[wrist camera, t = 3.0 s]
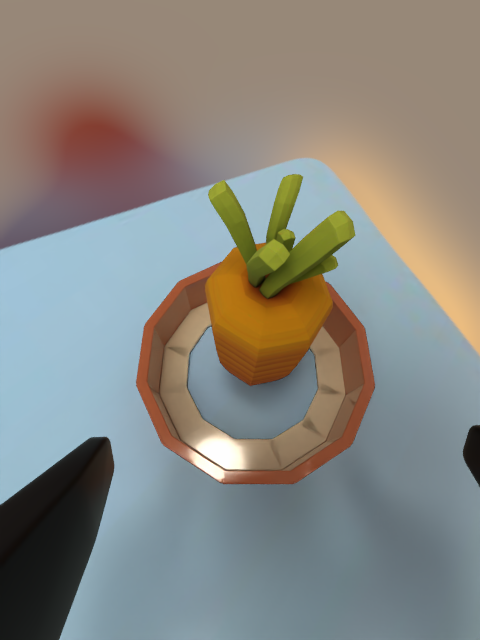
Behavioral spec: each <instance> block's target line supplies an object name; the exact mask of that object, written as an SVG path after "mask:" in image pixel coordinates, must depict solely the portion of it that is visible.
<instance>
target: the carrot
mask: <svg viewBox="0 0 480 640" xmlns="http://www.w3.org/2000/svg"><path fill="white" fill-rule="evenodd" d="M302 179H303V176H301V175H298V174H293V175H288V176H286V177H284V178H283V179H282V181H281V184H280V186H279V189H278V192H277V195H276V199H275V202H274V206H273V210H272V214H271V218H270V222H269V226H268V231H267V236H266V243H261V244H255V242H254V239H253V236H252V234H251V231H250V228H249V225H248V222H247V219H246V216H245V213H244V211H243V209H242V208H241V206H240V204H239V202H238V200H237V198H236V197H235V195H234V193H233V191H232V190H231V189H230V187H229V186H228V185H227V183H226V182H225V181H224V180H223V181H221V182H219V183H217V184H215V185H214V186H213V187H212V188H211V189H210V190H209V194H208V196H209V199H210V201H211V203H212V205H213V206H214V208H215V209H216V211H217V213H218V214H219V216H220V217H221V219H222V220H223V222H224V223H225V225H226V226H227V228H228V230H229V232H230V234H231V236H232V238H233V240H234V242H235V243H236V245H237V247H235V248H233V249H232V251H231V252H230V253H229V254H228V255H227V257H226V258H225V259H224V260H223V261H222V263H221V264H220V265H219V266H218V268H217V269H216V270H215V271H214V272H213V274H212V275H211V276H210V277H209V278H208V280H207V282H206V284H205V293H206V298H207V304H208V309H209V314H210V320H211V325H212V330H213V335H214V340H215V345H216V350H217V353H218V357H219V360H220V363H221V364H222V365H223V366H224V368H225V369H226V370H228V371H229V372H230V373H231V374H233V375H234V376H236V377H237V378H239V379H240V380H242V381H244V382H245V383H247V384H248V385H250V386H252V385H257V384H262V383H267V382H272V381H276V380H279V379H281V378H283V377H285V376H287V375H289V374H290V373H291V371H292V370H293V369H294V368H295V367H296V366H297V365H298V363H299V362H300V360H301V359H302V358H303V356H304V355H305V354H306V352H307V351H308V349H309V348H310V346H311V344H312V343H313V341H314V339H315V338H316V336H317V334H318V333H319V331H320V329H321V327H322V326H323V324H324V322H325V321H326V319H327V317H328V316H329V314H330V312H331V310H332V307H333V301H332V299H331V296H330V293H329V291H328V288H327V285H326V283H325V280H324V277H323V275H322V273H325V272H328V271H331V270H333V269H336V267H337V266H338V263H337V260H336V257H334V256H333V255H332V254H333V253H335V252H336V251H337V250H338V249H340V248H341V247H342V246H343V245H345V244H346V243H347V242H348V241H349V240H351V239H352V238H353V237H354V236H355V231H354V226H353V221H352V220H351V219H350V217H349V216H348V215H347V214H346V213H345V212H344V211H336V212H335V213H333V214H332V215H330V216H329V217H327V218H326V219H325V220H324V221H323V222H322V223H320V224H319V225H318V226H317V227H316V228H315V229H313V230H312V231H311V232H310V233H309V234H308V235H306V236H305V237H304V238H303V239H302V240H301V241H300V242H299V243H298V244H297V245H296V246H295V247H294V248H293V249H292V247H293V244H294V241H295V235H294V233H293V232H292V231H290V230H288V229H286V227H287V224H288V221H289V218H290V216H291V213H292V210H293V207H294V205H295V202H296V199H297V196H298V193H299V190H300V187H301V183H302Z"/></svg>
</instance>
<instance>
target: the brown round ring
mask: <svg viewBox="0 0 480 640" xmlns="http://www.w3.org/2000/svg"><path fill="white" fill-rule="evenodd" d="M221 263H222V262H220V263H218V264H216V265H214V266H211V267H209V268H207V269H205V270H203V271H200V272H198V273H196V274H194V275H192V276H189V277H187V278H185V279H183V280H181V281H179V282H178V283H177V284H176V285H175V287H174V288H173V289H172V290H171V292H170V293H169V294H168V296H167V297H166V298H165V299H164V301H163V302H162V303H161V304H160V306H159V307H158V308H157V310H156V311H155V312H154V313H153V315H152V316H151V317H150V318H149V320H148V321H147V322H146V324H145V326H144V331H143V338H142V345H141V352H140V359H139V366H138V373H137V380H136V386H137V388H138V391H139V393H140V395H141V397H142V400H143V402H144V404H145V406H146V409H147V411H148V413H149V416H150V418H151V420H152V422H153V425H154V427H155V429H156V431H157V434H158V436H159V438H160V441H161V443H162V444H163V445H164V446H165V447H167V448H168V449H170V450H171V451H173V452H174V453H176V454H177V455H179V456H180V457H182V458H183V459H185V460H186V461H188V462H189V463H191V464H192V465H194V466H195V467H197V468H198V469H200V470H201V471H203V472H205V473H206V474H208V475H209V476H211V477H212V478H214V479H215V480H217V481H218V482H220V483H223V484H294V483H297V482H298V481H300V480H301V479H303V478H304V477H306V476H307V475H309V474H310V473H312V472H313V471H315V470H316V469H318V468H319V467H321V466H322V465H324V464H325V463H327V462H328V461H330V460H331V459H332V458H334V457H335V456H337V455H338V454H340V453H341V452H343V451H344V450H346V449H347V448H349V447H350V446H351V445H352V443H353V441H354V438H355V436H356V433H357V431H358V428H359V426H360V423H361V421H362V418H363V416H364V413H365V411H366V408H367V406H368V403H369V401H370V398H371V396H372V393H373V391H374V388H375V382H374V376H373V371H372V365H371V360H370V354H369V348H368V343H367V337H366V331H365V328H364V326H363V325H362V324H361V322H360V321H359V320H358V318H357V317H356V316H355V315H354V313H353V312H352V311H351V310H350V308H349V307H348V306H347V305H346V303H345V302H344V301H343V300H342V298H341V297H340V296H339V295H338V293H337V292H336V291H335V290H334V288H333V287H332V286H331V285H330V284H329V283H327V282H325V283H326V285H327V288H328V291H329V293H330V296H331V299H332V301H333V307H332V310H331V312H330V314H329V316H328V317H327V319H326V321H325V322H324V324H323V326H322V327H321V329H320V331H319V333H318V334H317V336H316V338H315V339H314V341H313V343H312V344H311V346H310V350H311V351H312V353H313V354H314V355H315V365H316V375H317V385H318V390H317V392H316V394H315V396H314V398H313V400H312V402H311V404H310V406H309V408H308V411H307V413H306V415H305V417H304V419H303V420H302V421H301V422H299V423H298V424H296V425H294V426H293V427H291V428H290V429H288V430H286V431H285V432H283V433H282V434H280V435H278V436H277V437H275V438H274V439H234V438H232V437H231V436H229V435H227V434H226V433H224V432H223V431H221V430H219V429H218V428H216V427H215V426H213V425H211V424H210V423H208V422H206V421H205V420H203V419H202V417H201V415H200V413H199V411H198V409H197V407H196V405H195V403H194V401H193V399H192V397H191V395H190V393H189V391H188V389H187V379H188V365H189V354H190V352H191V351H192V349H193V348H194V347H195V345H196V344H197V342H198V341H199V339H200V338H201V336H202V335H203V333H204V332H205V331H206V329H207V328H208V327H210V326H212V325H211V320H210V314H209V309H208V304H207V298H206V293H205V284H206V282H207V280H208V278H209V277H210V276H211V275H212V274H213V272H214V271H215V270H216V269H217V268H218V266H219V265H220V264H221ZM226 469H227V470H226Z"/></svg>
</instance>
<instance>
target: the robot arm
mask: <svg viewBox="0 0 480 640" xmlns="http://www.w3.org/2000/svg"><path fill="white" fill-rule="evenodd" d="M463 458H464V460H465V463H466V464H467V466H468V468H469V469H470V471H471V473H472V474H473V476H474V478H475V480H476V481H477V483H478V485H479V486H480V425H475V426H472V427H471V428H470V429H469V432H468V435H467V439H466V442H465V445H464V449H463ZM113 473H114V460H113V454H112V449H111V444H110V440H109V438H107V437H92V438H89V439H88V440H86V441H85V442H84V443H82V444H81V445H80V446H78V447H77V448H76V449H74V450H73V451H72V452H70V453H69V454H68V455H66V456H65V457H64V458H62V459H61V460H60V461H58V462H57V463H56V464H54V465H53V466H52V467H50V468H49V469H48V470H46V471H45V472H44V473H42V474H41V475H40V476H38V477H37V478H36V479H34V480H33V481H32V482H30V483H29V484H28V485H26V486H25V487H24V488H22V489H21V490H20V491H18V492H17V493H16V494H14V495H13V496H12V497H10V498H9V499H8V500H6V501H5V502H4V503H3V504H1V505H0V640H59V638H60V636H61V633H62V630H63V627H64V625H65V622H66V619H67V617H68V614H69V611H70V609H71V606H72V603H73V601H74V598H75V595H76V592H77V590H78V587H79V584H80V582H81V579H82V576H83V574H84V571H85V568H86V566H87V563H88V560H89V557H90V555H91V552H92V549H93V546H94V543H95V540H96V537H97V534H98V530H99V526H100V523H101V519H102V515H103V511H104V507H105V504H106V500H107V496H108V492H109V488H110V485H111V481H112V477H113Z"/></svg>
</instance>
